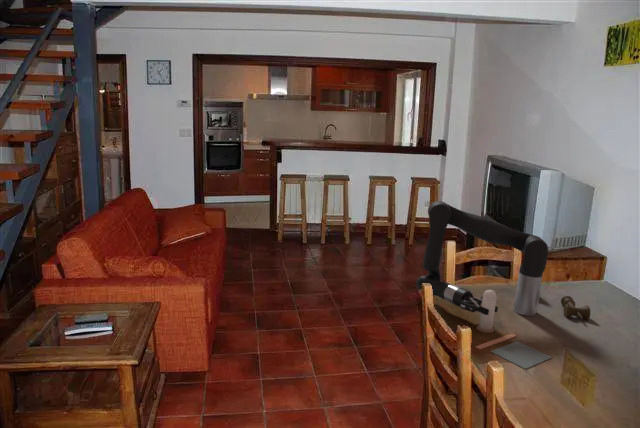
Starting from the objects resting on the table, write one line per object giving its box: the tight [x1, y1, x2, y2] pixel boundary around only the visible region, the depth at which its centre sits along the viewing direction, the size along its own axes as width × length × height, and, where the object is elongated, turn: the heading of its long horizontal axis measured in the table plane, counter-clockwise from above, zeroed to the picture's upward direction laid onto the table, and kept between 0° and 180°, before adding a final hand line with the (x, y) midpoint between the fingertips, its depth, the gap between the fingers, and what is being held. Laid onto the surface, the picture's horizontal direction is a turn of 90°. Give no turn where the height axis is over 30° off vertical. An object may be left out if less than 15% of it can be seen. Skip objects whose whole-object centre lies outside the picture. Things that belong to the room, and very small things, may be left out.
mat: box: [490, 341, 553, 370], centre depth 186 cm, size 16×14×1 cm
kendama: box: [560, 295, 591, 321], centre depth 226 cm, size 6×10×20 cm
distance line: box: [475, 333, 517, 350], centre depth 195 cm, size 22×2×1 cm, turn 126°
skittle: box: [476, 289, 497, 334], centre depth 203 cm, size 6×6×16 cm
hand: (492, 311), depth 202 cm, fingers closed on skittle, 5 cm apart
